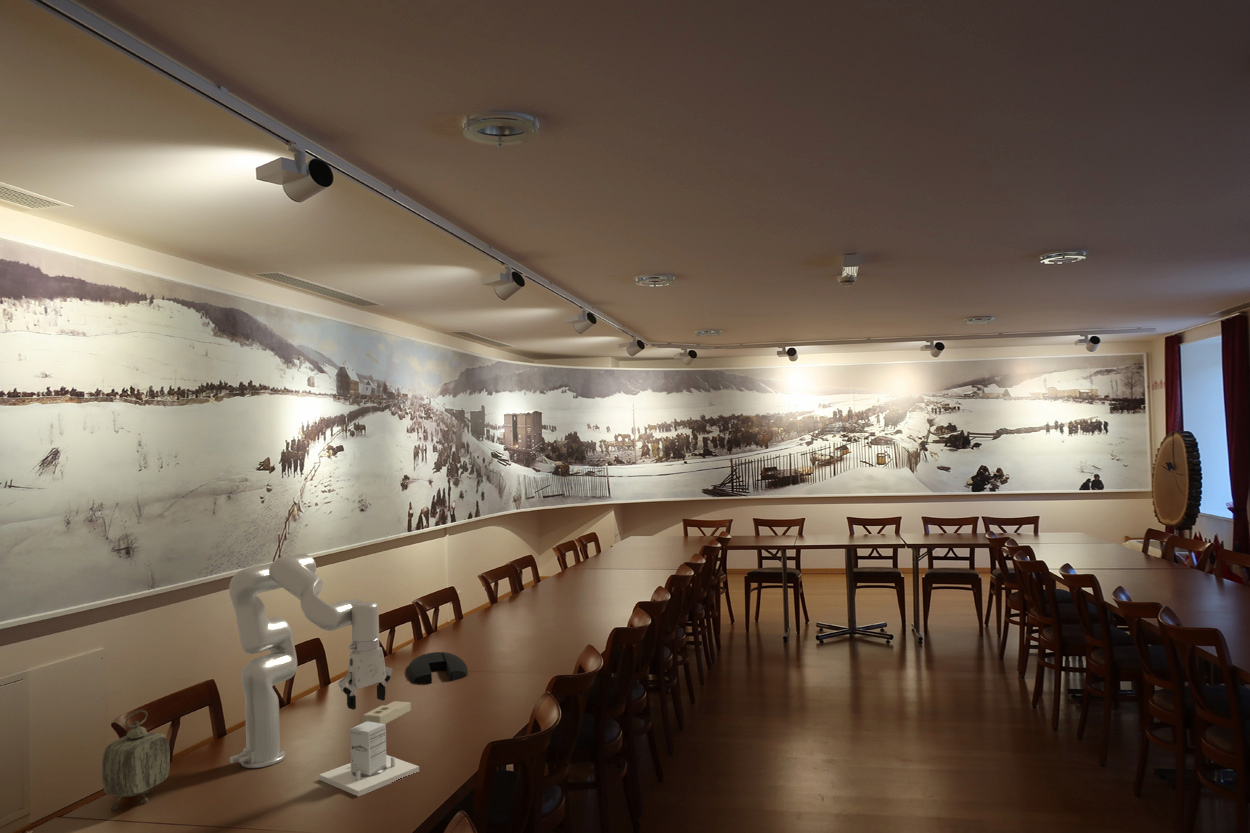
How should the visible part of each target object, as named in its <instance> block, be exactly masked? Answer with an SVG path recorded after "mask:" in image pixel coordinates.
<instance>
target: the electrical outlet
mask: <svg viewBox="0 0 1250 833" xmlns="http://www.w3.org/2000/svg"><path fill="white" fill-rule="evenodd" d="M411 705H412V703H411V701H409V702H408V701H398V700H393V701H392V702H390V703H388V704H386V705H379V706H378V707H376V708H374V709H372V710H370V711H368V712H366V713H364V714H363V715H362V723H364V722H367V721H369V722H375V723H381V724H386V725H387V724H388V723H390V722H393V721H394V720H396V719H398V718H400V717H401V716H403V715H404V714H406V713H409V712H410V711H411V710H412V706H411Z"/></svg>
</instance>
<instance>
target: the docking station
mask: <svg viewBox="0 0 1250 833" xmlns="http://www.w3.org/2000/svg"><path fill="white" fill-rule="evenodd" d="M437 671H446V673H447V675H448V678H449V680H450V682H452V681H456V680H459V679H462V678H463V679H464V678H466V677H467V676H468V666H467V665H466V663H465V661H464V660H463V659H462V658H460V657H459V656H457V655H455V654H453V653H451V652H446V651H435V652H429V653H423V654H421V655H418V656H416V658H414V659H412V661H410V662H409V665H408V666H407V669H406V676H407V677H408V680H409V681H411V683H413V684H432V683H433V681H432V680H433V677H432V676H433V675H432V672H437Z"/></svg>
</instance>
